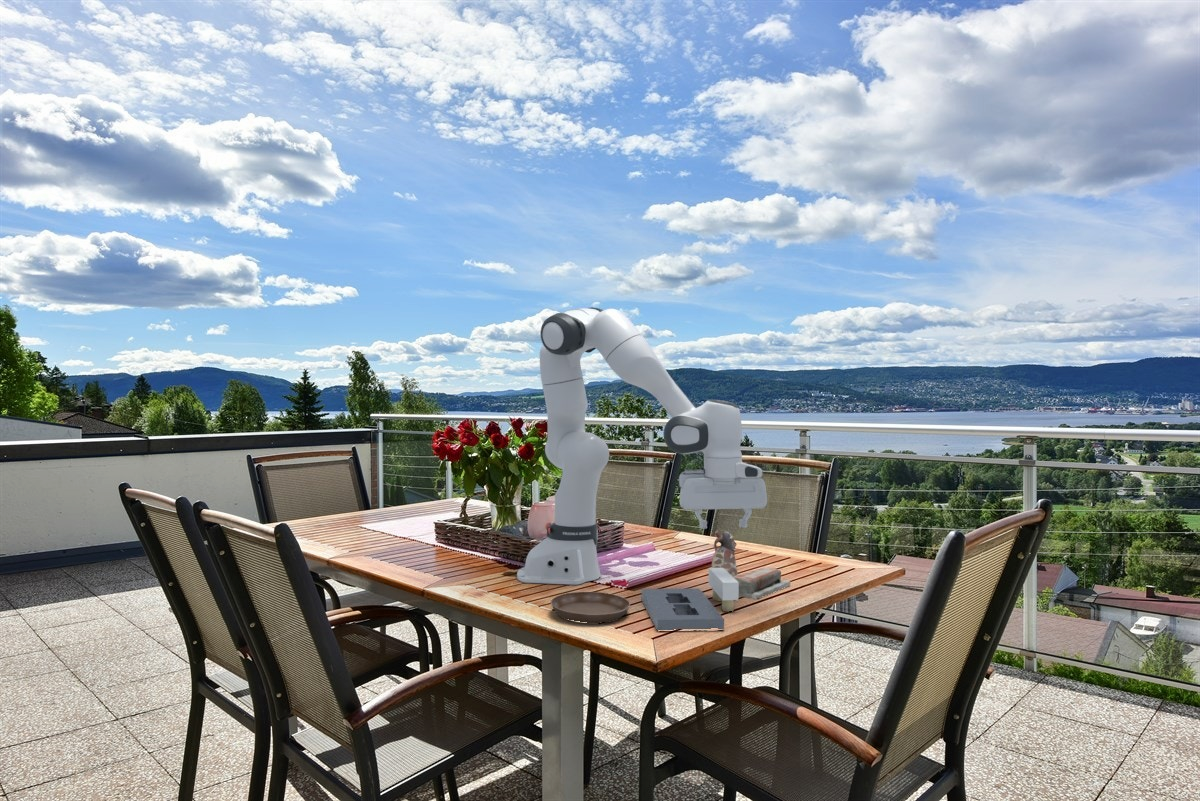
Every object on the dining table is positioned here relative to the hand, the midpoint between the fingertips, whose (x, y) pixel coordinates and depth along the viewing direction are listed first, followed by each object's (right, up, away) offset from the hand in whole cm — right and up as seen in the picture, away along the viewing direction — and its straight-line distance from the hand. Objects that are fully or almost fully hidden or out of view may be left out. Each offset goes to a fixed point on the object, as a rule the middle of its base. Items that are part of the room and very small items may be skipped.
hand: (723, 527), depth 172 cm
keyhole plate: (-11, -18, -8) cm, 22 cm away
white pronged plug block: (0, -18, 0) cm, 18 cm away
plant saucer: (-31, -18, -8) cm, 37 cm away
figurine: (+5, -18, +29) cm, 34 cm away
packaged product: (+11, -19, +14) cm, 26 cm away
